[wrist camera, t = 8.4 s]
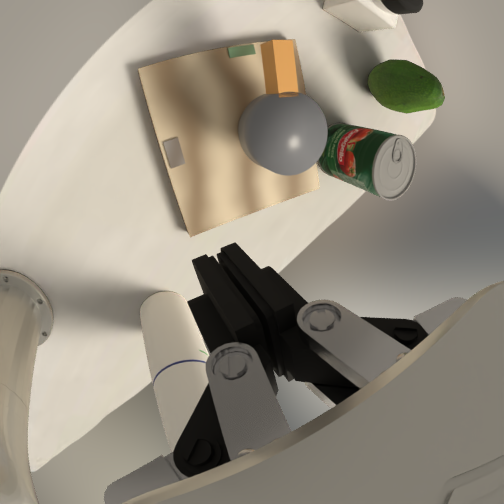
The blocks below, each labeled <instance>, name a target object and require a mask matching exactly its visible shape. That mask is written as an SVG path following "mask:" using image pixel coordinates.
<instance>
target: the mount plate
mask: <svg viewBox="0 0 504 504" xmlns="http://www.w3.org/2000/svg"><path fill="white" fill-rule="evenodd" d="M289 40H293V48H294V56H295V65H296V74H297V84H298V92H299V93H302V94H305V95H306V91H305V86H304V80H303V75H302V70H301V65H300V60H299V55H298V51H297V46H296V41H295V39H289ZM266 42H268V41H266ZM263 43H265V42H257V43H249V44H242V45H235V46H229V47H223V48H217V49H212V50H207V51H202V52H198V53H193V54H189V55H185V56H181V57H177V58H173V59H169V60H165V61H162V62H158V63H155V64H152V65H148V66H145V67H142V68H139V69H138V73H139V77H140V81H141V84H142V88H143V92H144V95H145V99H146V103H147V106H148V110H149V113H150V117H151V120H152V124H153V127H154V130H155V134H156V137H157V140H158V144H159V147H160V150H161V153H162V157H163V160H164V163H165V166H166V169H167V172H168V175H169V178H170V182H171V185H172V188H173V191H174V194H175V197H176V200H177V203H178V206H179V208H180V211H181V214H182V217H183V220H184V223H185V226H186V229H187V231H188V234H189V235H190V237H192V236H195V235H197V234H200V233H202V232H205V231H207V230H210V229H212V228H215V227H217V226H220V225H222V224H225V223H228V222H230V221H233V220H235V219H238V218H241V217H243V216H246V215H248V214H251V213H254V212H256V211H259V210H262V209H264V208H267V207H270V206H272V205H275V204H278V203H281V202H283V201H286V200H289V199H291V198H294V197H297V196H300V195H303V194H305V193H308V192H311V191H314V190H317V189H319V188H320V187H319V179H318V171H317V163H315V164H314V165H313V166H312V167H311V168H309V169H308V170H306V171H305V172H303V173H300V174H297V175H291V176H285V175H280V174H276V173H274V172H272V171H270V170H268V169H266V168H263V167H261V166H259V165H257V164H255V163H254V162H253V161H251V160H250V159H249V158H248V157H247V156H246V154H245V153H244V151H243V149H242V147H241V144H240V141H239V133H238V129H239V122H240V119H241V116H242V114H243V112H244V110H245V108H246V107H247V106H248V105H249V103H250V102H251V101H253V100H254V99H255V98H257V97H258V96H260V95H263V94H266V88H265V80H264V71H263V63H262V55H261V47H260V44H263Z"/></svg>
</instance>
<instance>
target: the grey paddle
mask: <svg viewBox="0 0 504 504" xmlns="http://www.w3.org/2000/svg"><path fill="white" fill-rule="evenodd" d="M260 47H261V55H262V63H263V71H264V80H265V88H266V94H263V95H260V96H258V97H257V98H255V99H254V100H253V101H251V102H250V103H249V105H248V106H247V107H246V108H245V110H244V112H243V114H242V116H241V119H240V122H239V129H238V133H239V141H240V144H241V147H242V149H243V151H244V153H245V154H246V156H247V157H248V158H249V159H250V160H251V161H253V162H254V163H255V164H257V165H259V166H261V167H263V168H266V169H268V170H270V171H272V172H274V173H276V174H280V175H285V176H291V175H297V174H300V173H303V172H305V171H306V170H308V169H309V168H311V167H312V166H313V165H314V164H315V163H316V162H317V161H318V160H319V158H320V157H321V155H322V153H323V151H324V149H325V146H326V142H327V135H328V129H327V122H326V118H325V116H324V113H323V111H322V110H321V108H320V107H319V105H318V104H317V103H316V102H315V101H314V100H313V99H312V98H310V97H309V96H307V95H305V94H302V93H299V92H298V84H297V74H296V65H295V56H294V48H293V40H271V41H268V42H265V43H263V44H260Z"/></svg>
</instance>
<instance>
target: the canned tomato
mask: <svg viewBox="0 0 504 504" xmlns="http://www.w3.org/2000/svg"><path fill="white" fill-rule="evenodd" d="M327 129H328V135H327V142H326V146H325V149H324V151H323V153H322V155H321V157H320V158H319V160H318V164H319V166H320V168H321V169H322V170H323V171H324V172H325V173H326V174H328V175H329V176H333V177H335V178H337V179H340V180H342V181H344V182H347V183H349V184H352V185H354V186H356V187H359V188H361V189H364V190H365V191H368V192H370V193H373V194H374V195H377V196H379V197H381V198H383V199H385V200H395V199H397V198H399V197H401V196H402V195H403V194H404V193H405V192H406V191H407V189H408V188H409V187H410V185H411V183H412V180H413V178H414V175H415V170H416V154H415V150H414V147H413V145H412V143H411V141H410V140H409V139H408V138H406V137H405V136H402V135H396V134H392V133H388V132H384V131H379V130H374V129H369V128H364V127H359V126H354V125H347V124H343V123H335V124H333V125H330V126H329V127H327Z"/></svg>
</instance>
